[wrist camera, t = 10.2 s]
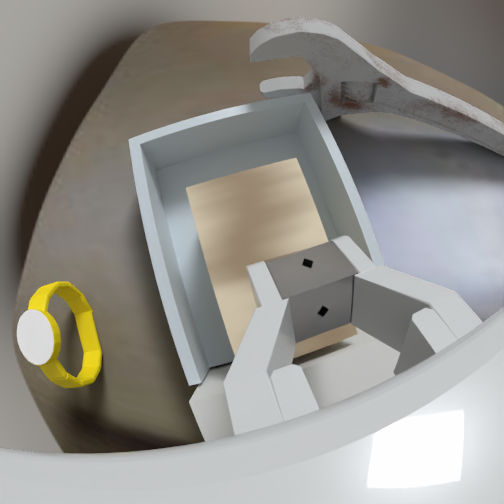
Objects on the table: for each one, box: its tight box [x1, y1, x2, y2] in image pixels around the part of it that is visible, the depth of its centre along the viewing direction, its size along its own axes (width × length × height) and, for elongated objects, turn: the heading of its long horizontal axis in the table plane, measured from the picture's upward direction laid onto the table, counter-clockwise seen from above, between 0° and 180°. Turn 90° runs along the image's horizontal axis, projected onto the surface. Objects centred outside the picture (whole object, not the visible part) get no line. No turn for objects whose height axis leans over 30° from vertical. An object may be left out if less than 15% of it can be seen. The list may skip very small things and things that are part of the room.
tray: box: [129, 93, 385, 386], centre depth 16 cm, size 11×13×4 cm
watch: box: [17, 282, 102, 388], centre depth 13 cm, size 6×3×6 cm, turn 16°
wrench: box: [250, 17, 504, 156], centre depth 17 cm, size 8×2×30 cm
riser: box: [189, 327, 400, 442], centre depth 13 cm, size 10×9×6 cm
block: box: [186, 158, 358, 358], centre depth 14 cm, size 5×5×8 cm
